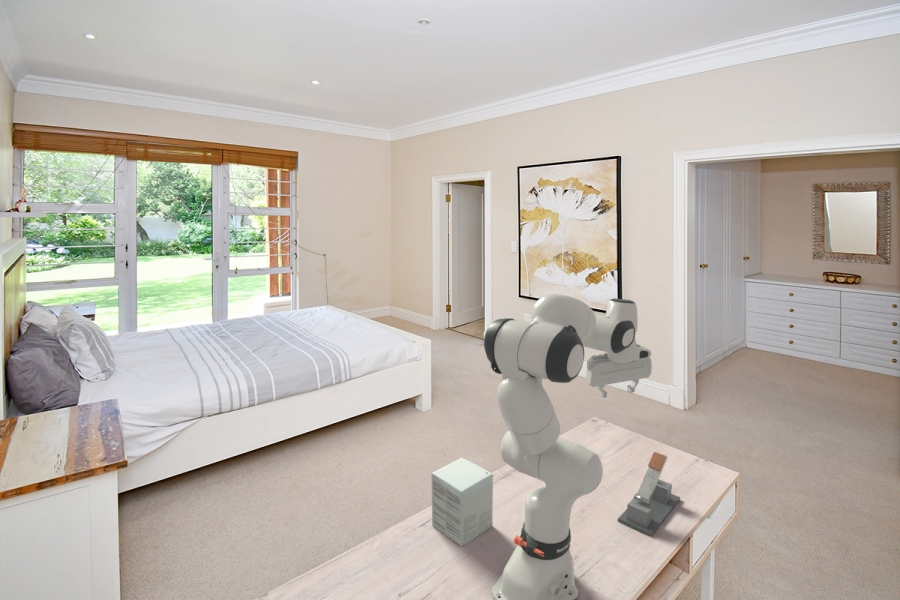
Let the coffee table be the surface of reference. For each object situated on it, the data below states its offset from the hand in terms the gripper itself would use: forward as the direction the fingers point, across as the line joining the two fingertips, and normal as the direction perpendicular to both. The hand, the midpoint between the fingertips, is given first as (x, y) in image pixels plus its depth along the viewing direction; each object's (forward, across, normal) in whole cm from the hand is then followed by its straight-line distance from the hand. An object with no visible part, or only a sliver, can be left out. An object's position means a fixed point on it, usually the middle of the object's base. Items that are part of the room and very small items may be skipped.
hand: (617, 394), depth 142 cm
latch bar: (+27, +9, -7) cm, 30 cm away
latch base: (+38, +9, -7) cm, 40 cm away
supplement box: (+36, -50, +1) cm, 61 cm away
